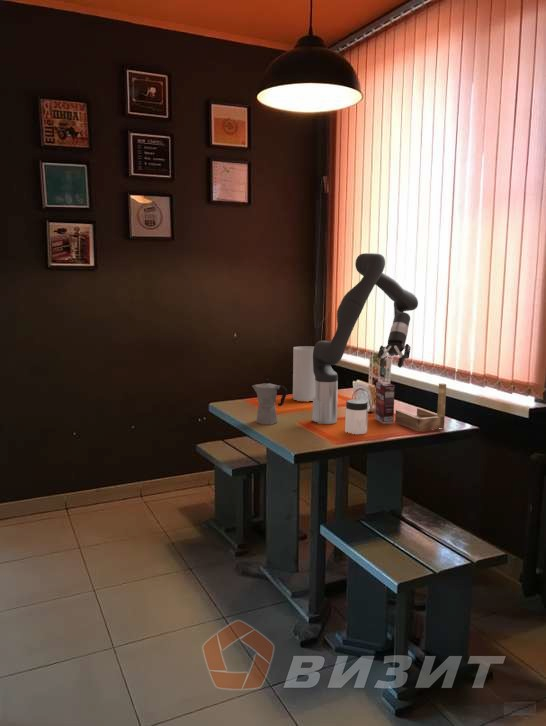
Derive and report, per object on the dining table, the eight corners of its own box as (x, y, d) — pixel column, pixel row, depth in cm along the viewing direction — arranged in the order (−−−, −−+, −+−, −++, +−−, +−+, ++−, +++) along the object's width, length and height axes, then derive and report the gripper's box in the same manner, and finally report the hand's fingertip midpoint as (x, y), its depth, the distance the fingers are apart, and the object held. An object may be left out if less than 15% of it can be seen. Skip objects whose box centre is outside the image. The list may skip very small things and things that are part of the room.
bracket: (418, 431, 233) (420, 386, 230) (395, 422, 248) (397, 379, 245) (443, 429, 238) (446, 384, 235) (419, 419, 252) (421, 377, 249)
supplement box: (374, 418, 253) (375, 381, 250) (384, 418, 254) (386, 381, 251) (383, 424, 244) (384, 385, 242) (393, 423, 246) (395, 385, 243)
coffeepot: (247, 423, 245) (247, 379, 242) (256, 417, 253) (257, 375, 250) (282, 427, 239) (282, 382, 236) (291, 421, 247) (291, 378, 244)
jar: (348, 435, 228) (349, 404, 226) (341, 429, 236) (342, 399, 234) (371, 433, 230) (372, 403, 228) (363, 428, 238) (364, 398, 236)
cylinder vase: (290, 397, 293) (291, 346, 289) (315, 396, 295) (316, 346, 291) (295, 403, 281) (296, 350, 277) (321, 402, 283) (323, 349, 279)
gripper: (380, 331, 267) (371, 363, 261) (409, 329, 258) (401, 362, 252) (388, 339, 272) (380, 371, 266) (416, 337, 263) (409, 370, 257)
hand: (390, 367), depth 259 cm, fingers open, 8 cm apart
